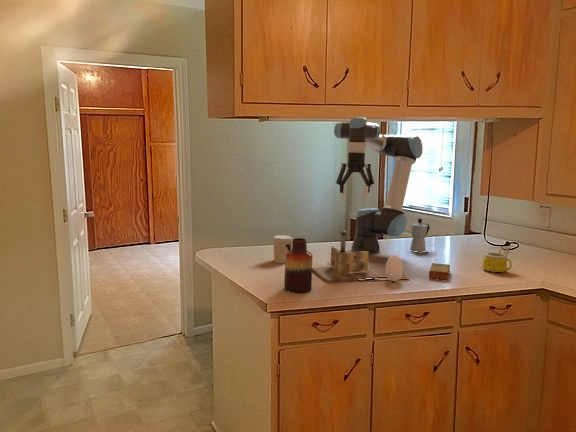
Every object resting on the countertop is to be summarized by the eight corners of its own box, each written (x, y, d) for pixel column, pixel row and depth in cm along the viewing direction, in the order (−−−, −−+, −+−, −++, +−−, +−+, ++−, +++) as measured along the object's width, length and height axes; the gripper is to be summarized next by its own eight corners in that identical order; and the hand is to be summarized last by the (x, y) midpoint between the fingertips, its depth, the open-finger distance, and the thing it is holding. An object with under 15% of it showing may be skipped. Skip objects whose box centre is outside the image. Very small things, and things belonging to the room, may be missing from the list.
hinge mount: (358, 267, 240) (359, 244, 238) (378, 279, 221) (380, 254, 219) (310, 270, 233) (311, 246, 231) (327, 282, 213) (328, 256, 212)
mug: (481, 272, 238) (483, 246, 237) (482, 266, 248) (484, 242, 246) (510, 275, 233) (513, 250, 231) (511, 270, 243) (513, 245, 241)
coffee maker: (417, 254, 272) (419, 220, 269) (404, 250, 278) (406, 218, 275) (433, 250, 281) (436, 218, 278) (420, 247, 288) (422, 216, 285)
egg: (389, 284, 214) (390, 257, 212) (381, 279, 221) (383, 253, 219) (405, 283, 215) (407, 256, 213) (397, 278, 222) (399, 252, 221)
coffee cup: (289, 264, 242) (290, 239, 240) (270, 262, 244) (271, 238, 242) (293, 259, 251) (294, 235, 249) (274, 258, 253) (275, 234, 251)
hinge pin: (344, 254, 224) (345, 230, 223) (347, 255, 221) (348, 231, 220) (337, 254, 223) (338, 230, 222) (340, 256, 220) (341, 231, 219)
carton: (428, 279, 224) (428, 270, 223) (431, 271, 239) (431, 262, 238) (448, 281, 221) (448, 272, 220) (449, 273, 236) (450, 264, 235)
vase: (279, 287, 205) (280, 238, 201) (300, 283, 211) (302, 235, 208) (294, 294, 196) (296, 243, 193) (316, 290, 202) (318, 240, 199)
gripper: (375, 152, 239) (373, 198, 242) (329, 151, 232) (327, 199, 236) (383, 152, 232) (380, 200, 235) (336, 151, 225) (334, 201, 228)
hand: (354, 199), depth 235 cm, fingers open, 11 cm apart
